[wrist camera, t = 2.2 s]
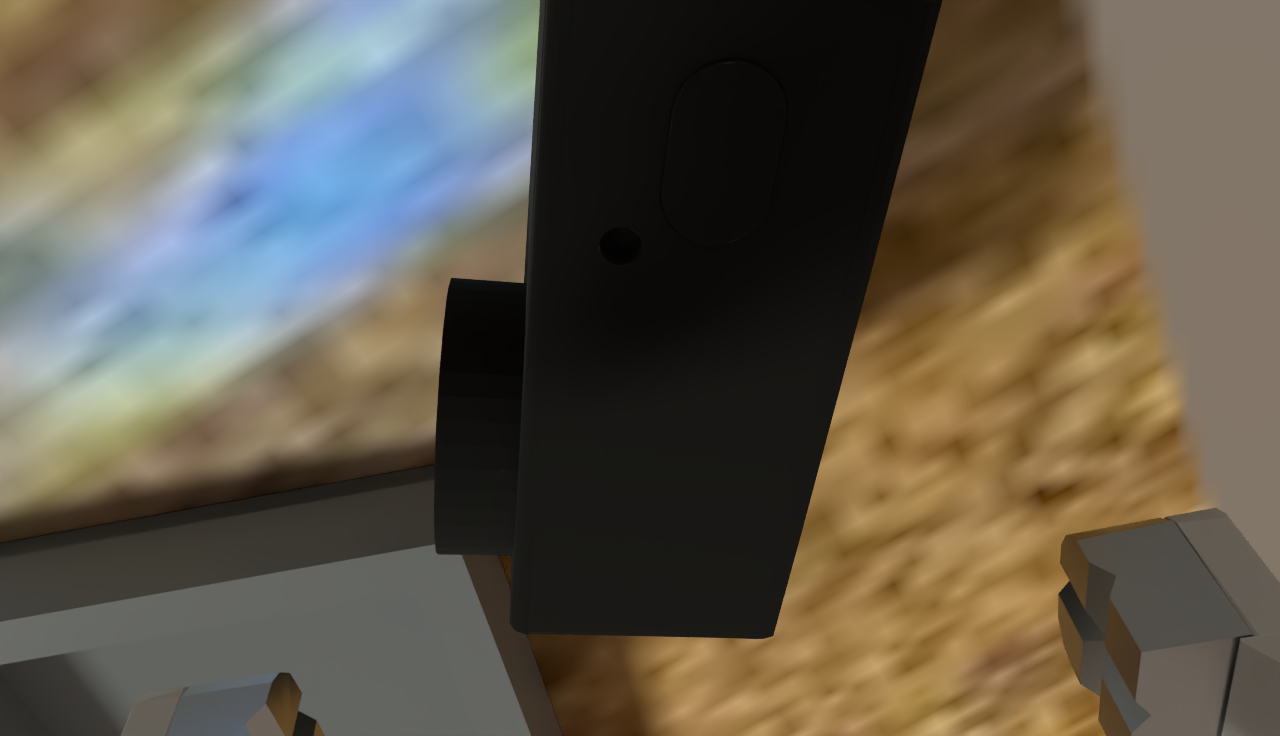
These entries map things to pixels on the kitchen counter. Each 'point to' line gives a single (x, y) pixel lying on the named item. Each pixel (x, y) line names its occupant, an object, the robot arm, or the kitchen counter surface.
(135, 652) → the tray
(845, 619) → the kitchen counter surface
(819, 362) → the digital camera
